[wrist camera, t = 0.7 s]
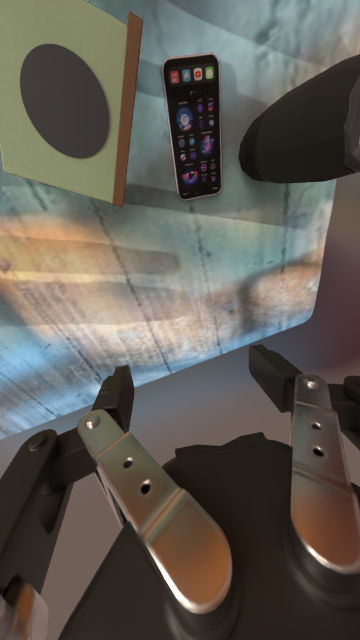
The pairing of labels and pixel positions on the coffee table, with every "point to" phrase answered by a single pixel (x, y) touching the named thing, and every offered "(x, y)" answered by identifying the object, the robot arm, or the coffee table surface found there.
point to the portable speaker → (308, 130)
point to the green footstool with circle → (67, 94)
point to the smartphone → (194, 122)
